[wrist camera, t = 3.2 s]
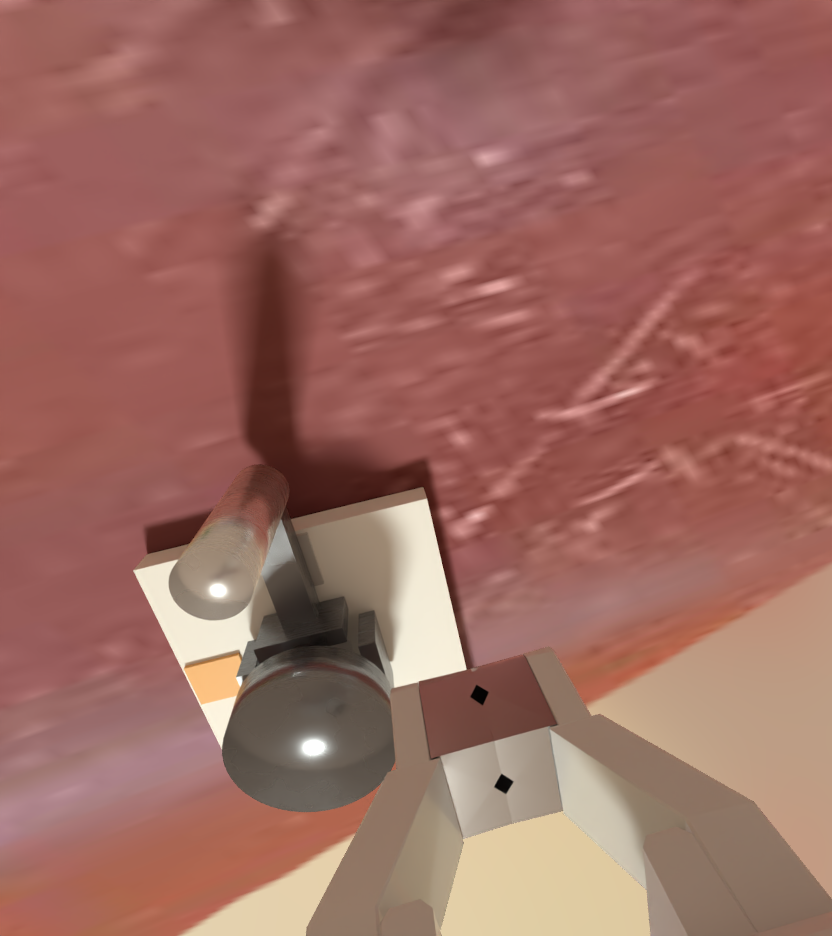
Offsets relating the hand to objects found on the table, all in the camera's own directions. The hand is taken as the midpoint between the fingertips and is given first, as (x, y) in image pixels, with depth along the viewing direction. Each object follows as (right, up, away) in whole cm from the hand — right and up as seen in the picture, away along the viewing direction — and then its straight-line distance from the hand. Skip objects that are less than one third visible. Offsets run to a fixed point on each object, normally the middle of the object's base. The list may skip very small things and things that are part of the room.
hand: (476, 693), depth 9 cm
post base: (-6, -5, +18) cm, 19 cm away
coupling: (-7, -2, +15) cm, 16 cm away
